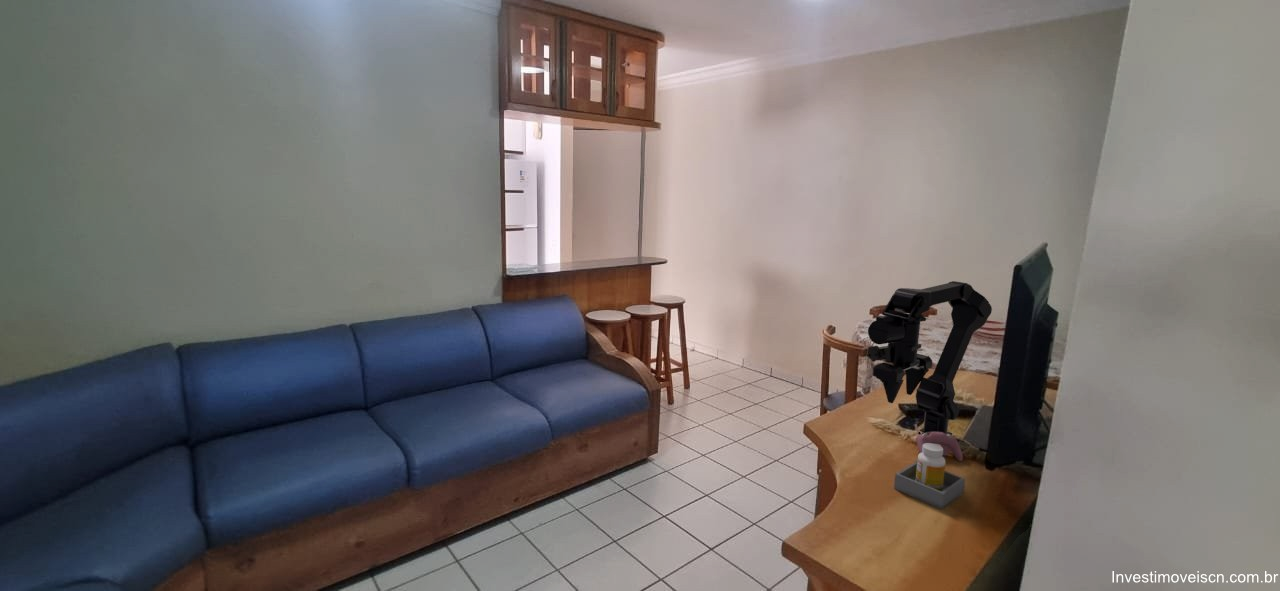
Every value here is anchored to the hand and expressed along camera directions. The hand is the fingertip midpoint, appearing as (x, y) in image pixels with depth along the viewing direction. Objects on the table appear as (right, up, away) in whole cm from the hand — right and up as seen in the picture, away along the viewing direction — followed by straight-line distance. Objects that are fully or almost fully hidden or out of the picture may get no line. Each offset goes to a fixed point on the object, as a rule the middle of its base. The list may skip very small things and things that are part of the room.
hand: (899, 398), depth 138 cm
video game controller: (+8, -14, -3) cm, 16 cm away
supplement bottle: (-3, -16, -18) cm, 25 cm away
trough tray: (-3, -17, -18) cm, 25 cm away
